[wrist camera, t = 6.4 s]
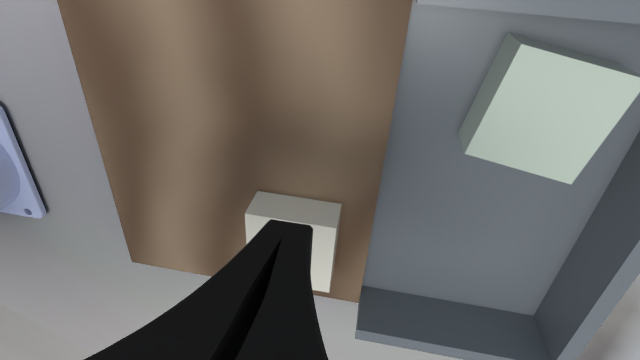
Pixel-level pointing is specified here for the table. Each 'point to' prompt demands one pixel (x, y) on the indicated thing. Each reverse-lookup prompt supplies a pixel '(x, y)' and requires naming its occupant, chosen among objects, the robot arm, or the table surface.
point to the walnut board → (238, 117)
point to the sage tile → (546, 108)
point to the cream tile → (303, 212)
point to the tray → (498, 198)
